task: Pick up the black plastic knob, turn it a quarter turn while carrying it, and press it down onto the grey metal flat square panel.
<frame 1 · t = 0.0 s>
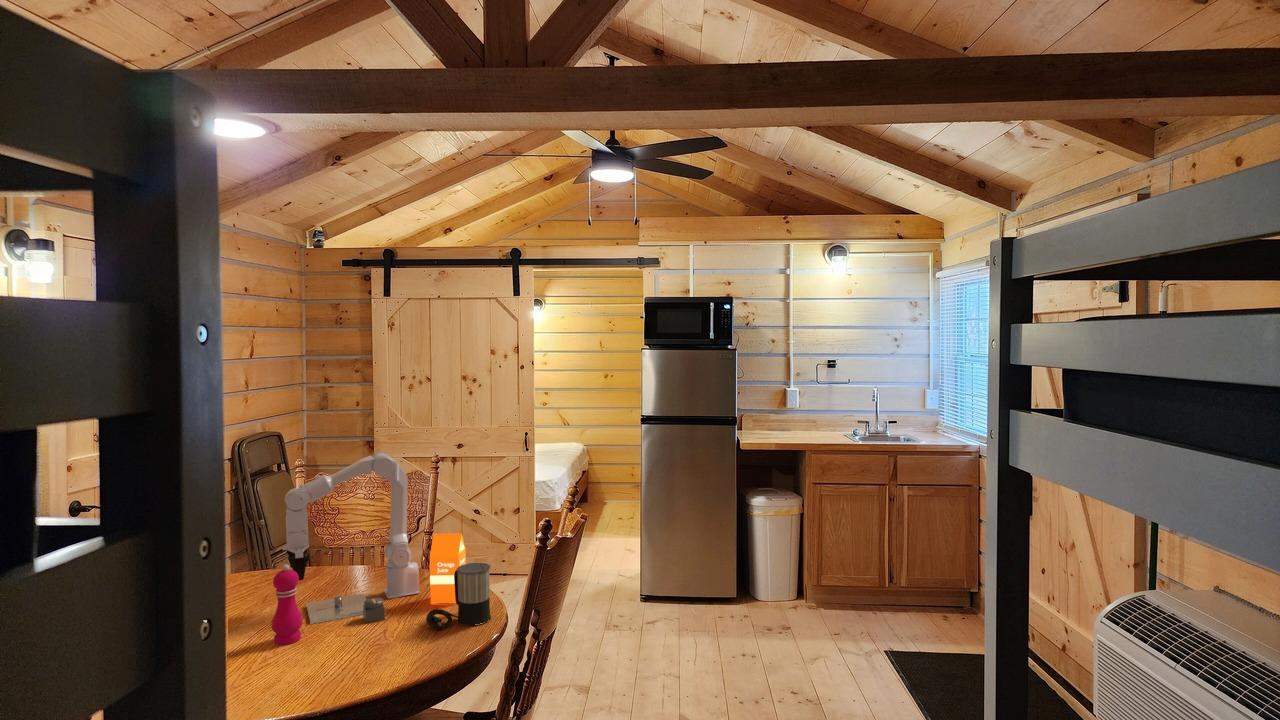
hand: (298, 576, 206), 10 cm above the table, tool pointing down, fingers open, 7 cm apart
orange juice: (449, 600, 213), on the table
milk frother: (459, 623, 195), on the table
knob: (374, 618, 199), on the table
flat square panel: (338, 609, 207), on the table
pepper mill: (287, 641, 185), on the table
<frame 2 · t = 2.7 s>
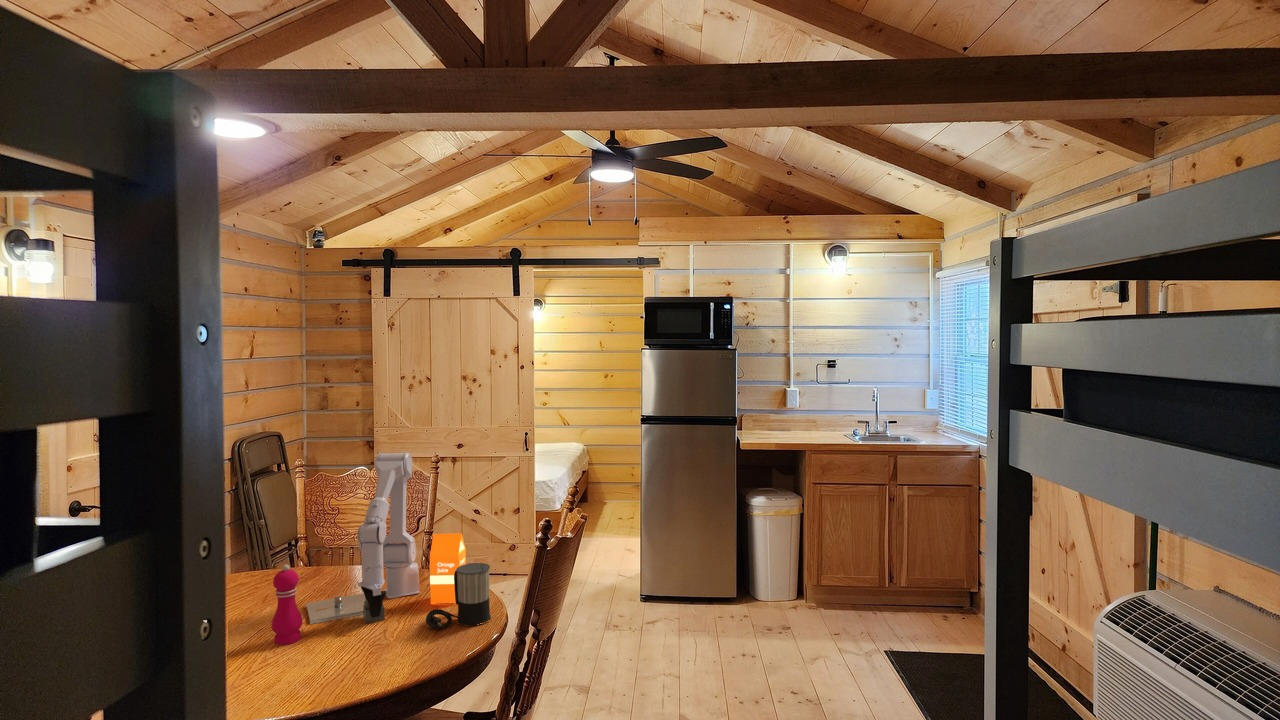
hand: (373, 613, 199), 1 cm above the table, tool pointing down, fingers closed on knob, 5 cm apart
knob: (374, 618, 199), on the table, touching gripper
everything else where it was.
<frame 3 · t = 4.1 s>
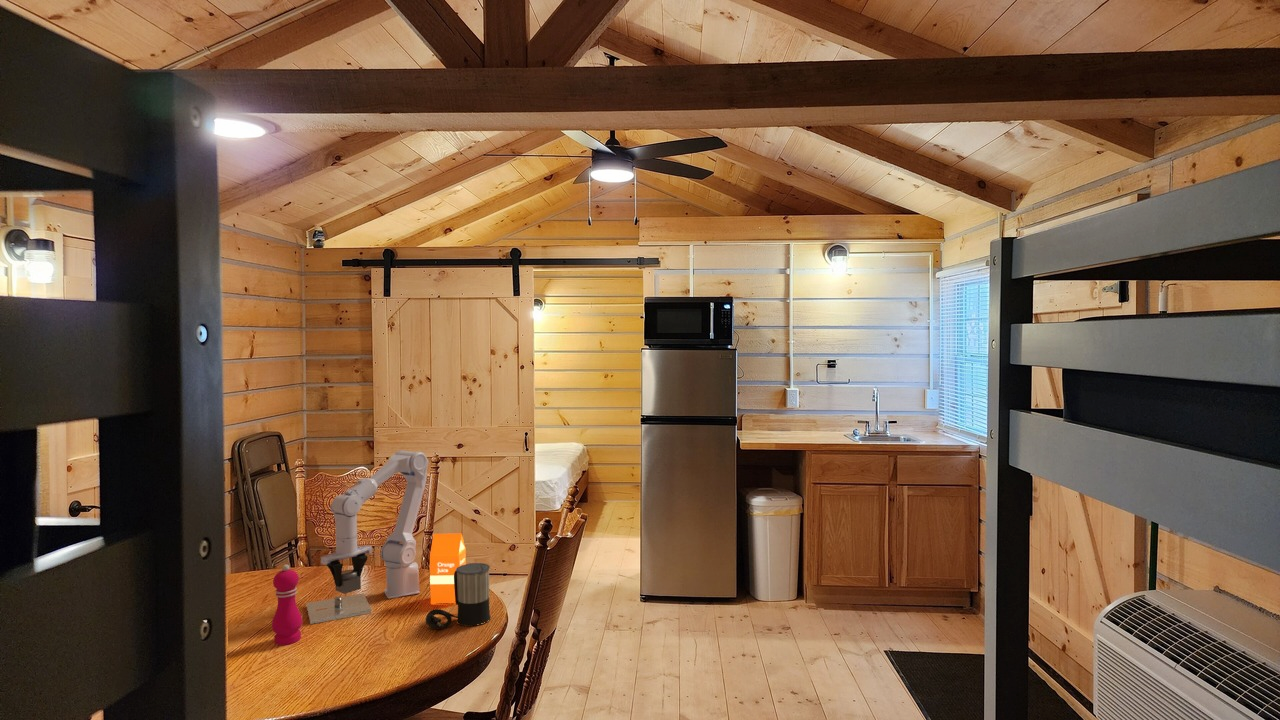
hand: (347, 583, 204), 8 cm above the table, tool pointing down, fingers closed on knob, 5 cm apart
knob: (348, 589, 204), point 7 cm above the table, touching gripper
everything else where it was.
when the fingers open (3 cm above the table, at t = 5.7 s): knob stays where it is, resting on flat square panel.
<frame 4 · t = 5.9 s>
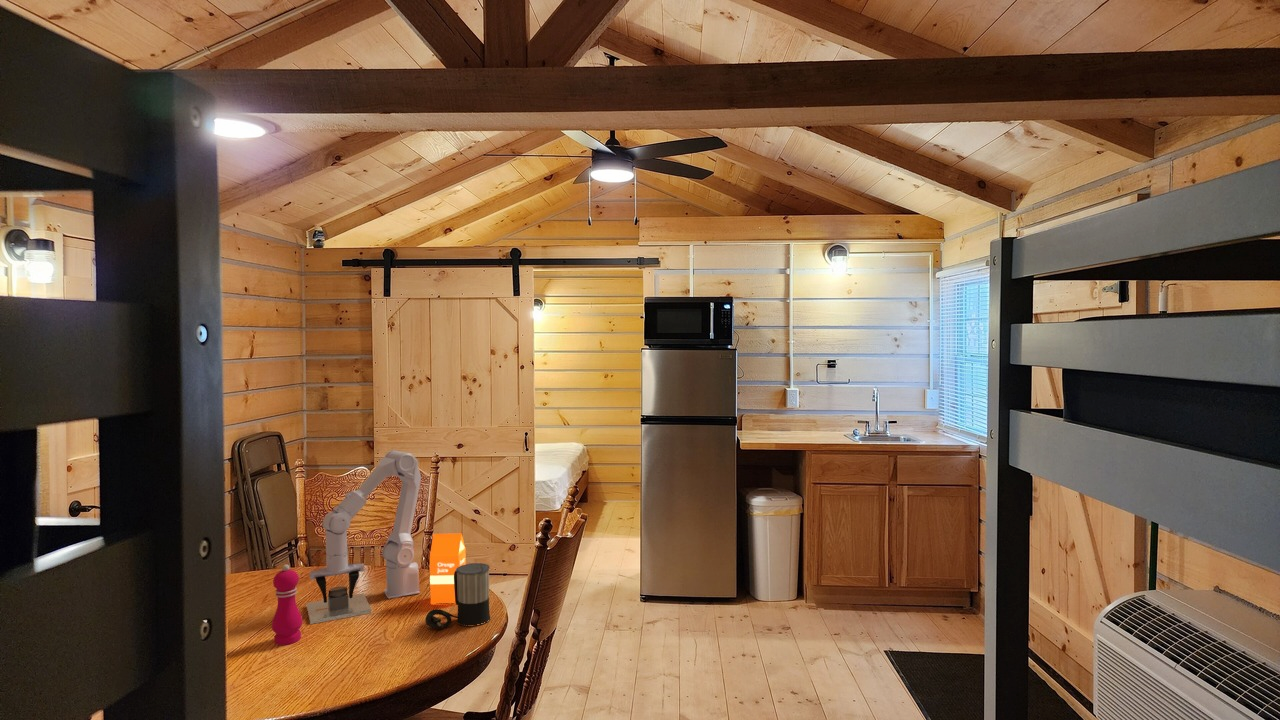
hand: (338, 599, 207), 3 cm above the table, tool pointing down, fingers open, 6 cm apart
knob: (338, 606, 206), point 1 cm above the table, touching flat square panel
everything else where it was.
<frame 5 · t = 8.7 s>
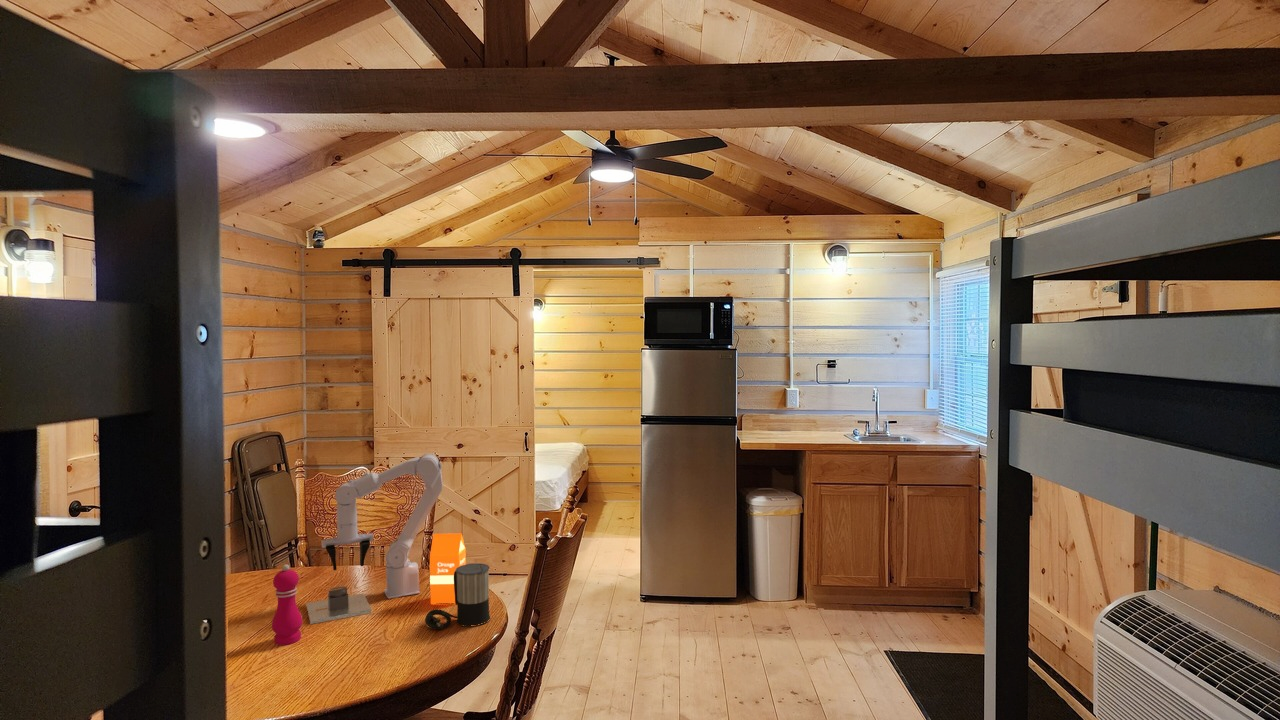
hand: (348, 567, 216), 9 cm above the table, tool pointing down, fingers open, 7 cm apart
nothing on the table moved.
at the end: knob 0.2 cm off-centre on the flat square panel, point 1.0 cm above the flat square panel's base; knob tilted 0°; the gripper is holding nothing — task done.
